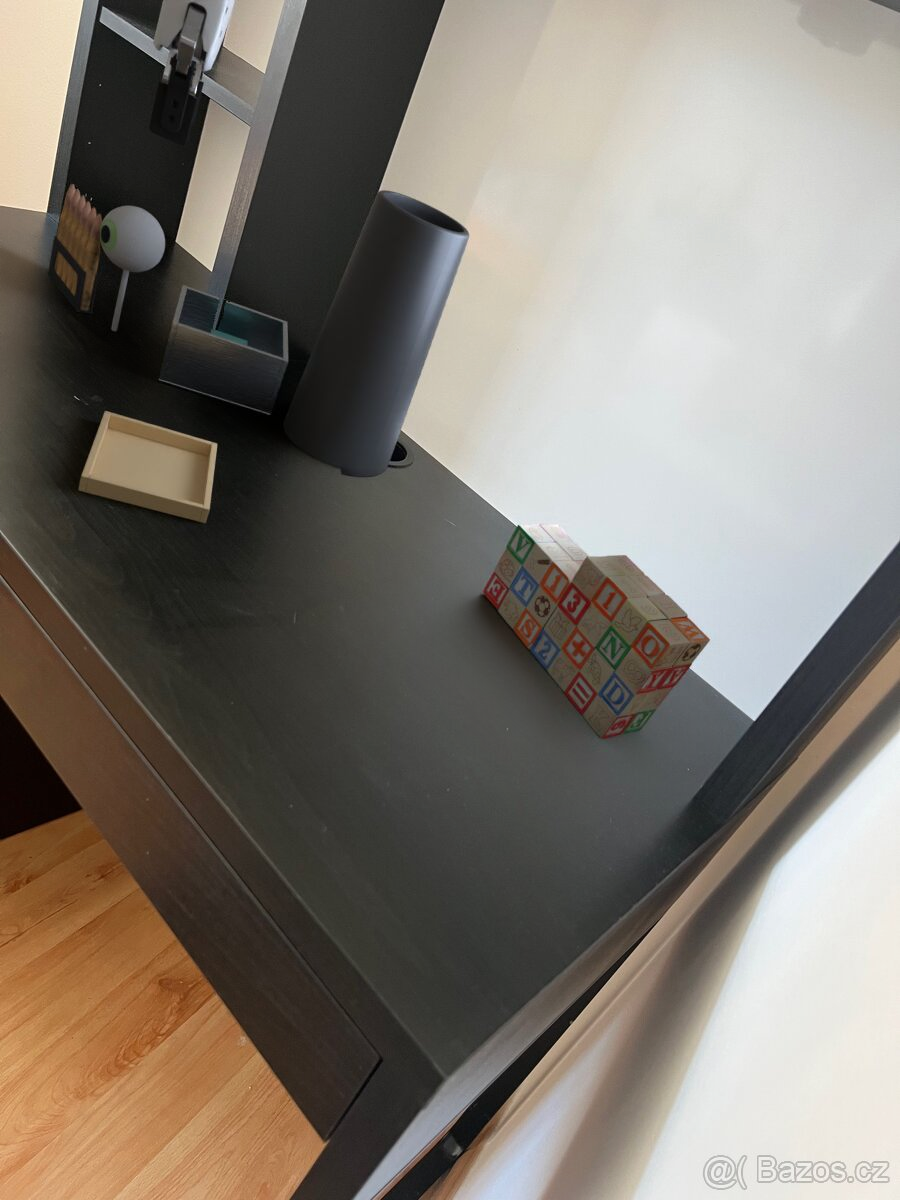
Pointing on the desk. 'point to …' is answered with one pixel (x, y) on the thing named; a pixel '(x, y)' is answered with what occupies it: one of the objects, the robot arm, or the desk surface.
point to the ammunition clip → (77, 252)
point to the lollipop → (131, 245)
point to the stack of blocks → (594, 626)
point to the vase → (376, 336)
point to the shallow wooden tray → (150, 467)
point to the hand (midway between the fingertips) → (171, 128)
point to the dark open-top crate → (225, 353)
